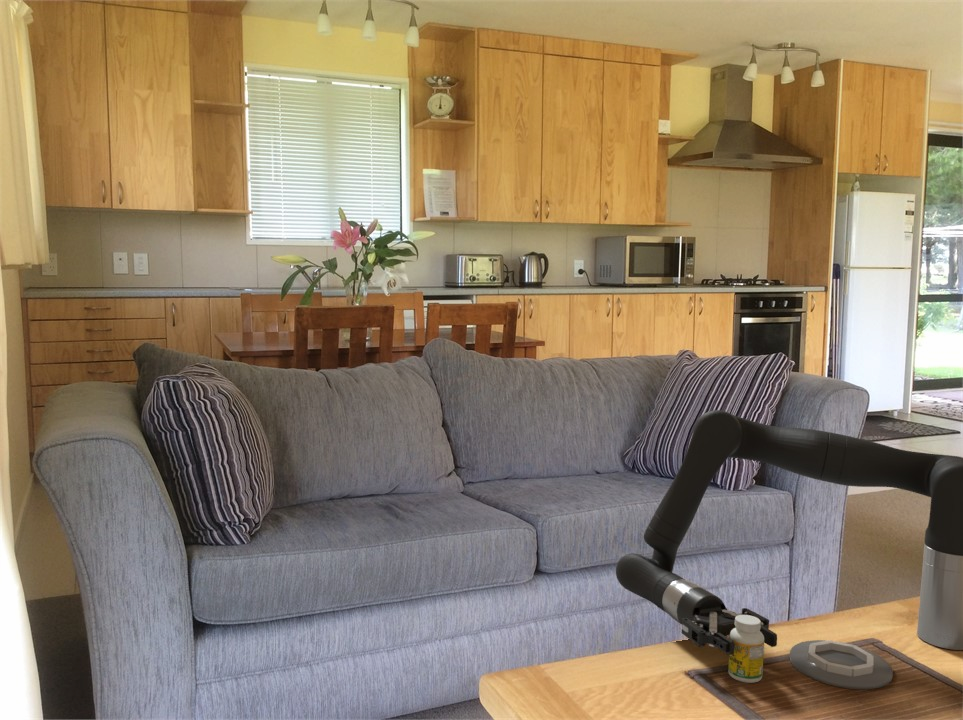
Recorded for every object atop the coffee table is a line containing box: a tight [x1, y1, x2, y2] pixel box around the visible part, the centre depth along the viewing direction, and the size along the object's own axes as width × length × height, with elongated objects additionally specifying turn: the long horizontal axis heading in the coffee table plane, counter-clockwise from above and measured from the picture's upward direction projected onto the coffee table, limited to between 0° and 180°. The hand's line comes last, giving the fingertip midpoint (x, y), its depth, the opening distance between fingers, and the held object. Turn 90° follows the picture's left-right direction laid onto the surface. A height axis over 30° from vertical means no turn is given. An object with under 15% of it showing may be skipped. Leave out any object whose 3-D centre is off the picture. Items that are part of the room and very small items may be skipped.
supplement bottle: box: [727, 615, 765, 684], centre depth 138 cm, size 5×5×10 cm
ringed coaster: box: [789, 639, 894, 690], centre depth 142 cm, size 16×16×2 cm
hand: (754, 645), depth 136 cm, fingers open, 8 cm apart
